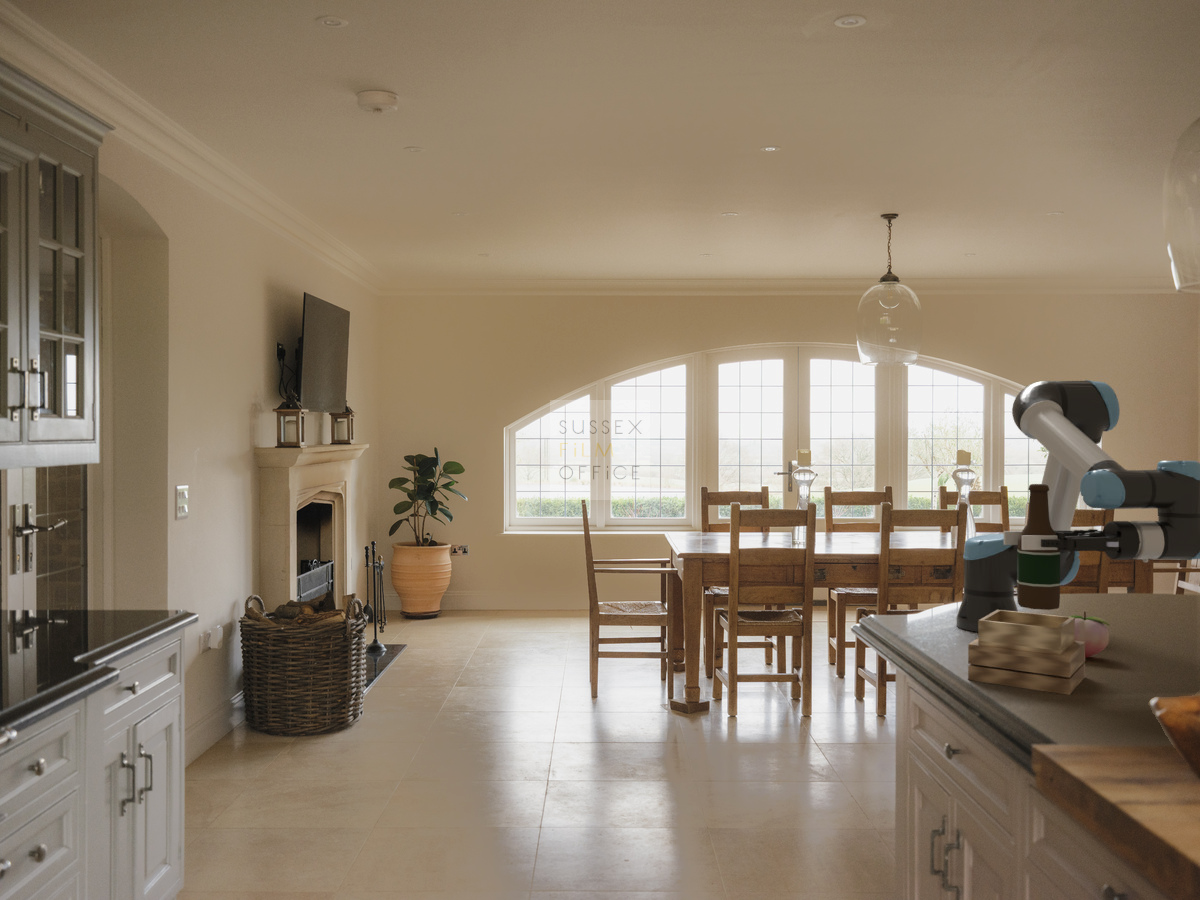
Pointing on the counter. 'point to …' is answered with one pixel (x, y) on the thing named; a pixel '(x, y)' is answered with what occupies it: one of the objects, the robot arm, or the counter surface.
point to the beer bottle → (1038, 558)
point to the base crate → (1028, 667)
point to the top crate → (1027, 631)
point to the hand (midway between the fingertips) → (1013, 540)
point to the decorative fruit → (1091, 633)
